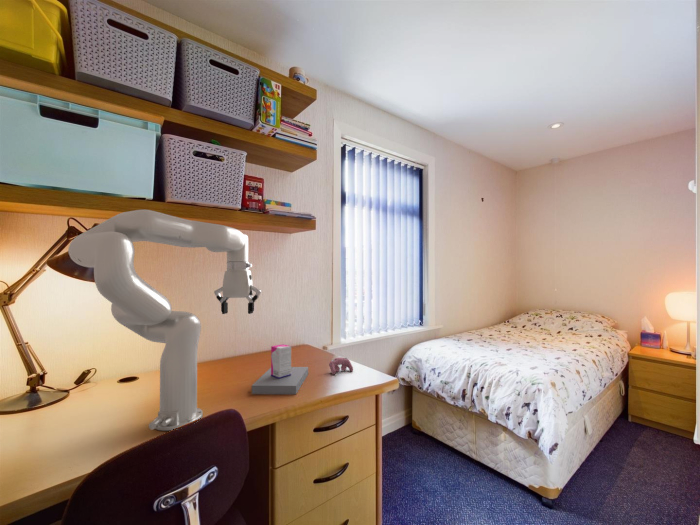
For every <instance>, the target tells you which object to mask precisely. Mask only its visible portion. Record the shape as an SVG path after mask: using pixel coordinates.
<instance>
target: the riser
mask: <svg viewBox="0 0 700 525" xmlns="http://www.w3.org/2000/svg"><path fill="white" fill-rule="evenodd" d="M308 375H309V367H308V366H291V375H290V376H287V377H284V378H281V379H278V378H275V377H273V376H271V367H269V368H268V370H266V372H264V373H263V374H262V375H261V376H260V377H259V378H258V379H257V380H256V381H255V382H254V383H253V384H252V385H251V395H297V394H296V393H298V392H299V391H300V389H301V387H302V386H301V385H303V384H304V382H305V381H306V380H307V379H306V378H307V377H308ZM298 390H299V391H298Z"/></svg>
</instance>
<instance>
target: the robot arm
mask: <svg viewBox="0 0 700 525" xmlns="http://www.w3.org/2000/svg"><path fill="white" fill-rule="evenodd" d="M136 242H137V243H138V242H149V243H156V244H163V245H169V246H172V247H173V246H175V247H180V248H189V249H190V248H191V249H192V248H205V249H206V250H208V251H209V252H212V253H226V270H225V271H224V274H223V278H222V279H223V281H222V286H220V287H219V288H218V289H216V290H214V291H213V292H214V293H213V294H214V295H215V297H216V299H217V301H219V303H220V308H221V309H220V311H221V314H222V315H226V314H228V311H229V308H228V307H229V302H227V301H228V300H229V299H237V298H239V299H240V298H242V299H243V298H245V299H247V301H248V302H247V314H250V315H251V314H253V313H254V312H255V302H256V301H257V300H258V299H259V297H260V295H261V293H262V290H261V289H259V288H258V287H255V286H254V282H253V275H252V271H251V270H249V269H250V268H252V267H253V264H252V263H250V262H249V236H248V235H247V234H246V233H242V231H241V230H239V229H237V228H235V227H231V226H227V225H223V224H217V223H211V222H204V221H198V220H190V219H186V218H181V217H178V216H174V215H171V214H167V213H162V212H159V211H155V210H150V209H136V210H130V211H123V212H121V213H118V214H116V215H114V216H111V217H110V218H108V219H106V220H104V221H102V222H101V223H99V224H97V225H95V226H93V227H92V228H89V229H87V231H84V232H83V233H81V234H79V235H76V236H75V237H74V238H73V239H72V240H71V241H70V243H69V245H68V250H67V251H68V255H69V258H70V259H71V260H72V261H73V262H74V263H75V264H77V265H79V266H82V267H85V268H93V278H94V284H95V287H96V289H97V291H98V293H100V295H101V296H102V297H103V298H104V299H105V300H106V301H107V300H108V301H109V302H110V303H111V307H110V309H111V314H112V317H113V319H115V321H116V322H117V323H119V324H120V325H122V326H124V327H125V328H126V329H128V330H130V331H131V332H133V333H135V334H137V335H138V336H140V337H142V338H144V339H146V340H148V341H150V342H154V343H159V344H165V346H164V348H163V351H162V352H161V357H160V359H159V360H160V361H159V411H157V417H155V418H154V420H152V421H151V422H149V424H148V428H149V429H150V430H158V431H166V432H167V431H168V432H169V431H174V430H173V429H175V428H178V427H180V426H182V425H185V424H187V423H190V422H193V421H195V420H198V419H200V418H201V419H202V418H203V413H204V412H203V410H202V409H201V408H199V407H198V348H199V341H200V338H201V337H200V335H201V331H202V324H201V321H200V319H199V318H198V316H197V315H195V314H193V313H192V312H189V311H180V310H179V311H178V310H173V308H172V304H171V302H170V300H169V299H168V298H167V297H166V296H165V295H164V294H162V293H161V291H158V290H157V289H156V288H155V287H153V286H152V285H151V284H149V283H148V282H147V281H145V280H144V279H143V278H142V277H140V275H139V274H138V273H137V271H136V269H135V264H134V262H135V261H134V260H135V253H136V252H135V247H134V243H136ZM254 292H255V294H254ZM221 293H222V295H221ZM201 419H200V420H201Z"/></svg>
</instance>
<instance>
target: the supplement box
mask: <svg viewBox="0 0 700 525" xmlns="http://www.w3.org/2000/svg"><path fill="white" fill-rule="evenodd" d="M270 349H271V350H270V351H271V352H270V353H271V354H270V363H271V364H270V368H271V376H273V377H275V378H278V379H281V378H284V377H287V376H290V375H291V367H292V345H288V344H285V343H284V344H277V345H271V347H270Z"/></svg>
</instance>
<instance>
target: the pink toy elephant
mask: <svg viewBox="0 0 700 525" xmlns="http://www.w3.org/2000/svg"><path fill="white" fill-rule="evenodd" d="M340 365H341V366H340ZM328 366H329V369H330V372H331V374H332V375H333V374H334V375H336V373H338V372H339V371H340V370H341V372H342V371H343V372H344V371H346V370H347V368H348V370H349V371H350V372H353V371H354V367H353V365H352V363H351V361H350V359H348V357H341V356H340V357H336V358H334V359H331V360H330V361H329V364H328ZM334 375H333V376H334Z"/></svg>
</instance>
